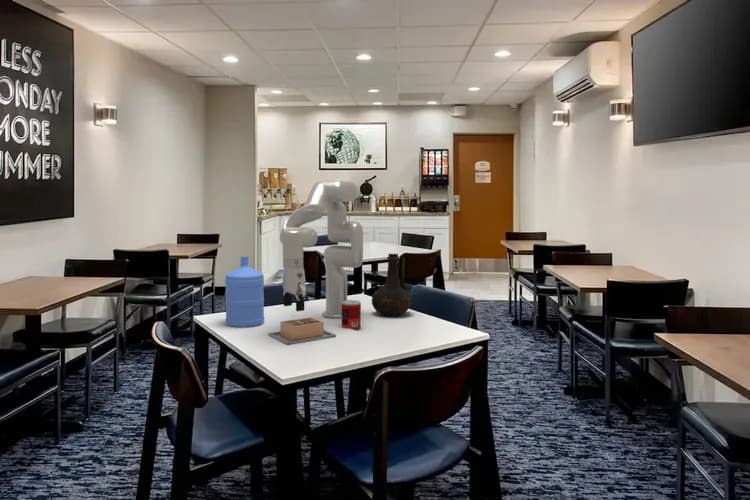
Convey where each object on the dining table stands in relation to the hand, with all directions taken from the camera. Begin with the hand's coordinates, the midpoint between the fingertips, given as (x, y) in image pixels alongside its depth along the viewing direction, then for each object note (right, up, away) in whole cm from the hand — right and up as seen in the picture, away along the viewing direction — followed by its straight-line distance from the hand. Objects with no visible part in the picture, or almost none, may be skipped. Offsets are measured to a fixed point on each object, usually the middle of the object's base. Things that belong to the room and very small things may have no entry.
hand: (293, 308), depth 200 cm
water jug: (-24, -9, +24) cm, 35 cm away
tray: (+3, -12, 0) cm, 12 cm away
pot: (+3, -11, 0) cm, 11 cm away
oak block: (+1, -10, -1) cm, 10 cm away
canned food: (+21, -10, +17) cm, 29 cm away
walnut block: (+6, -10, +2) cm, 11 cm away
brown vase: (+38, -8, +44) cm, 59 cm away
